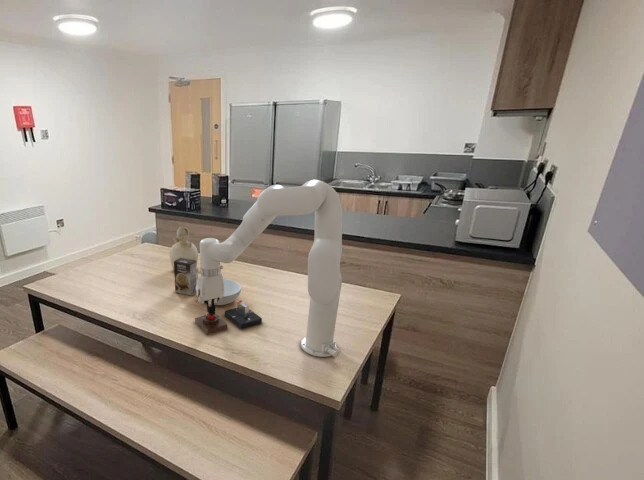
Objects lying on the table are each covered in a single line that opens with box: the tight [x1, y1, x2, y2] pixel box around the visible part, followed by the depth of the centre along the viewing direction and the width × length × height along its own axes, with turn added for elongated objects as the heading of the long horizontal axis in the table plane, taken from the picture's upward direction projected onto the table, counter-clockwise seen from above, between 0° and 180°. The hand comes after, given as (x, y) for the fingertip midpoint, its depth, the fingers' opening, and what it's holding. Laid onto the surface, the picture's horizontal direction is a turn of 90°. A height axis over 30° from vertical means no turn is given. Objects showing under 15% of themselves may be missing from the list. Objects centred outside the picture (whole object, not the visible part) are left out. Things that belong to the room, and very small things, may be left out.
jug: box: [169, 226, 199, 271], centre depth 204 cm, size 15×16×25 cm
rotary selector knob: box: [236, 299, 250, 318], centre depth 155 cm, size 6×2×5 cm, turn 28°
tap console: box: [224, 307, 263, 330], centre depth 157 cm, size 13×10×3 cm
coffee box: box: [173, 258, 198, 296], centre depth 180 cm, size 9×6×16 cm
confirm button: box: [205, 312, 215, 320], centre depth 151 cm, size 4×4×2 cm
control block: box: [194, 313, 228, 335], centre depth 152 cm, size 11×9×4 cm
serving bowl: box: [195, 278, 242, 306], centre depth 173 cm, size 21×21×7 cm
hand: (211, 313), depth 150 cm, fingers closed
